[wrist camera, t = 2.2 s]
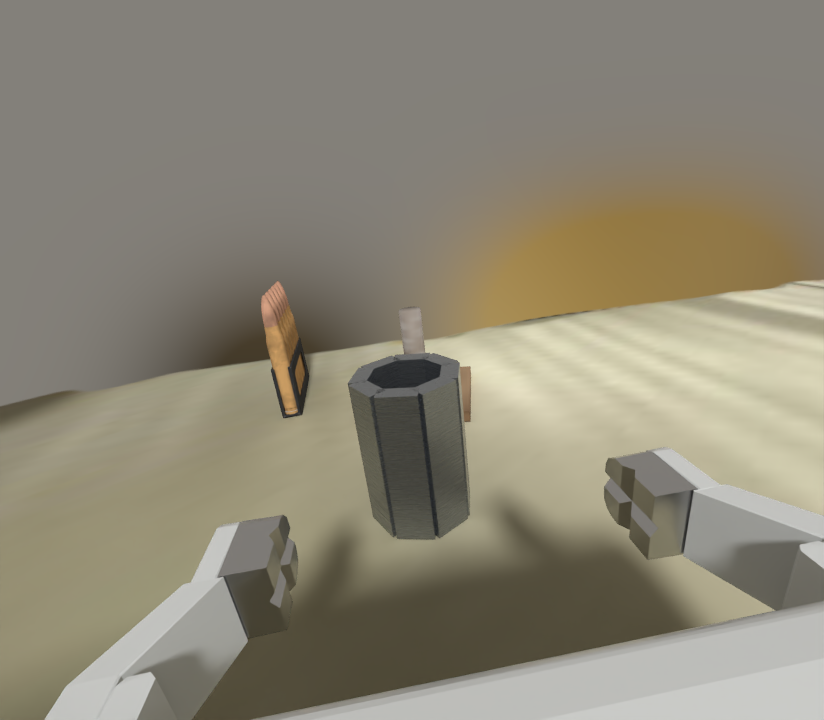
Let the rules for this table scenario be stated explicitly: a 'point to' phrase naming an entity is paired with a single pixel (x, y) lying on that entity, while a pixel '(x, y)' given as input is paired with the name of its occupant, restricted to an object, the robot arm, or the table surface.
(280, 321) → the ammunition clip
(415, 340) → the stand
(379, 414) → the grey octagonal tube
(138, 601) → the table surface
